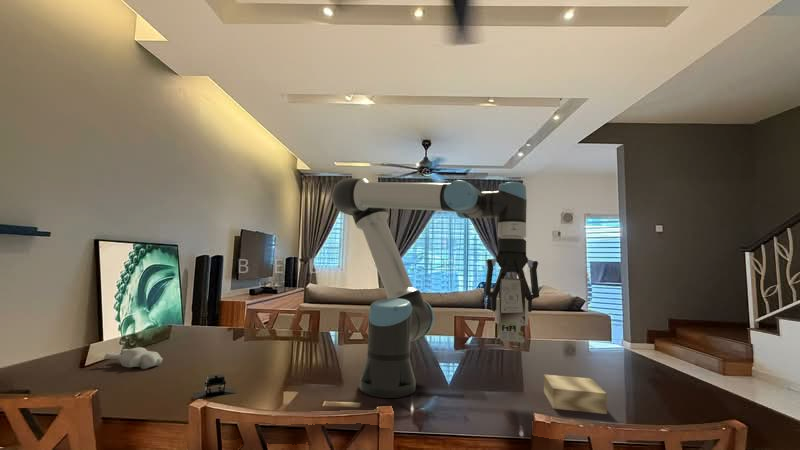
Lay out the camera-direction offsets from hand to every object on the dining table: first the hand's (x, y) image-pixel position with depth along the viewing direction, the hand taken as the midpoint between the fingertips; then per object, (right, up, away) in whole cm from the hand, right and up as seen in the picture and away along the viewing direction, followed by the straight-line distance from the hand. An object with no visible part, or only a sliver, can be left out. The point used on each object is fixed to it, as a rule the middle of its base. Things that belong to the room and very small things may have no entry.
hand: (511, 323), depth 99 cm
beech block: (+14, -19, -5) cm, 24 cm away
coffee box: (0, -4, 0) cm, 4 cm away
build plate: (-77, -16, -7) cm, 79 cm away
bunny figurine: (-111, -17, +13) cm, 113 cm away
